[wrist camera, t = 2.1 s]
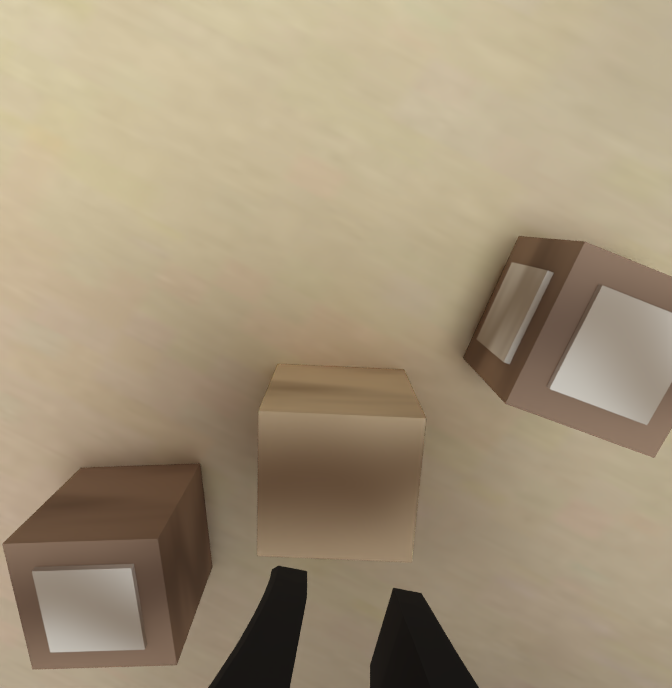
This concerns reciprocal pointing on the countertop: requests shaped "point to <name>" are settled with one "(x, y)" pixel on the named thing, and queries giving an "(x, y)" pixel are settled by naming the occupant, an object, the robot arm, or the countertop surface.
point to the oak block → (339, 464)
